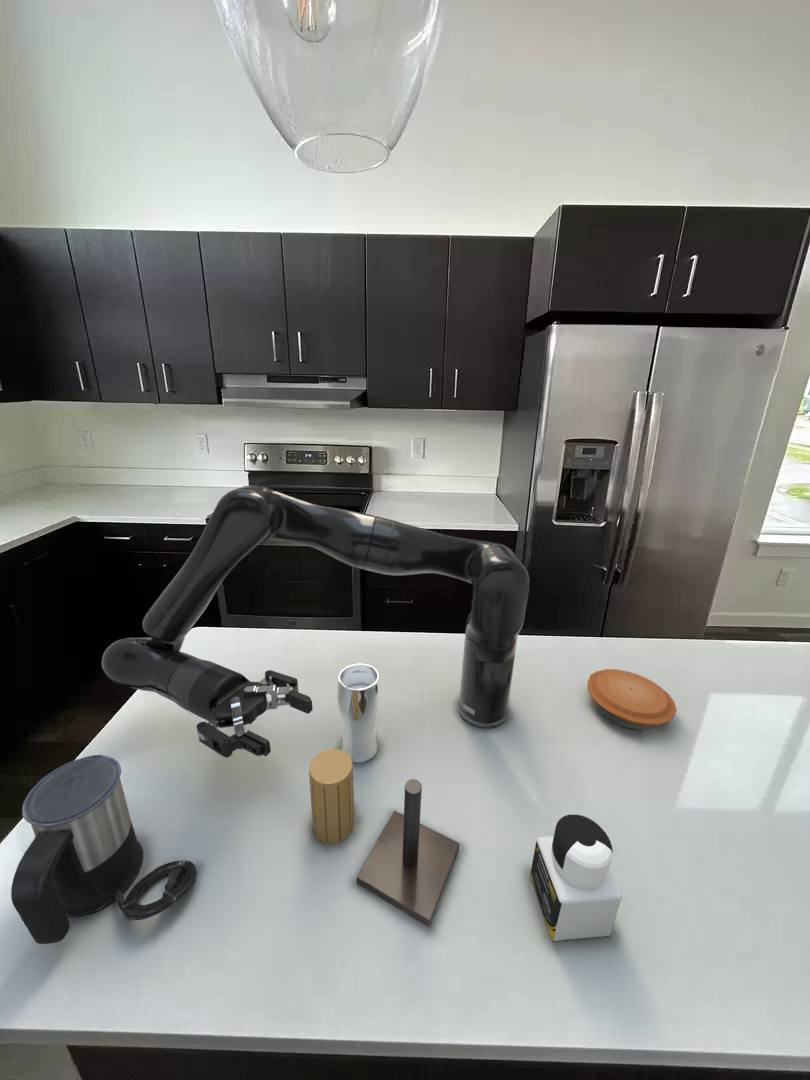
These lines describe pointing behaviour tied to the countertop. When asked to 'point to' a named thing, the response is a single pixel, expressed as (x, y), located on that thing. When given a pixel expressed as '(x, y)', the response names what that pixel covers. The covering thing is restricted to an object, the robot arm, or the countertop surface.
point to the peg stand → (410, 861)
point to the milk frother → (85, 852)
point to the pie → (630, 699)
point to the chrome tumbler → (359, 710)
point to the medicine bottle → (575, 880)
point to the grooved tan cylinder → (332, 795)
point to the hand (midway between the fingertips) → (291, 726)
